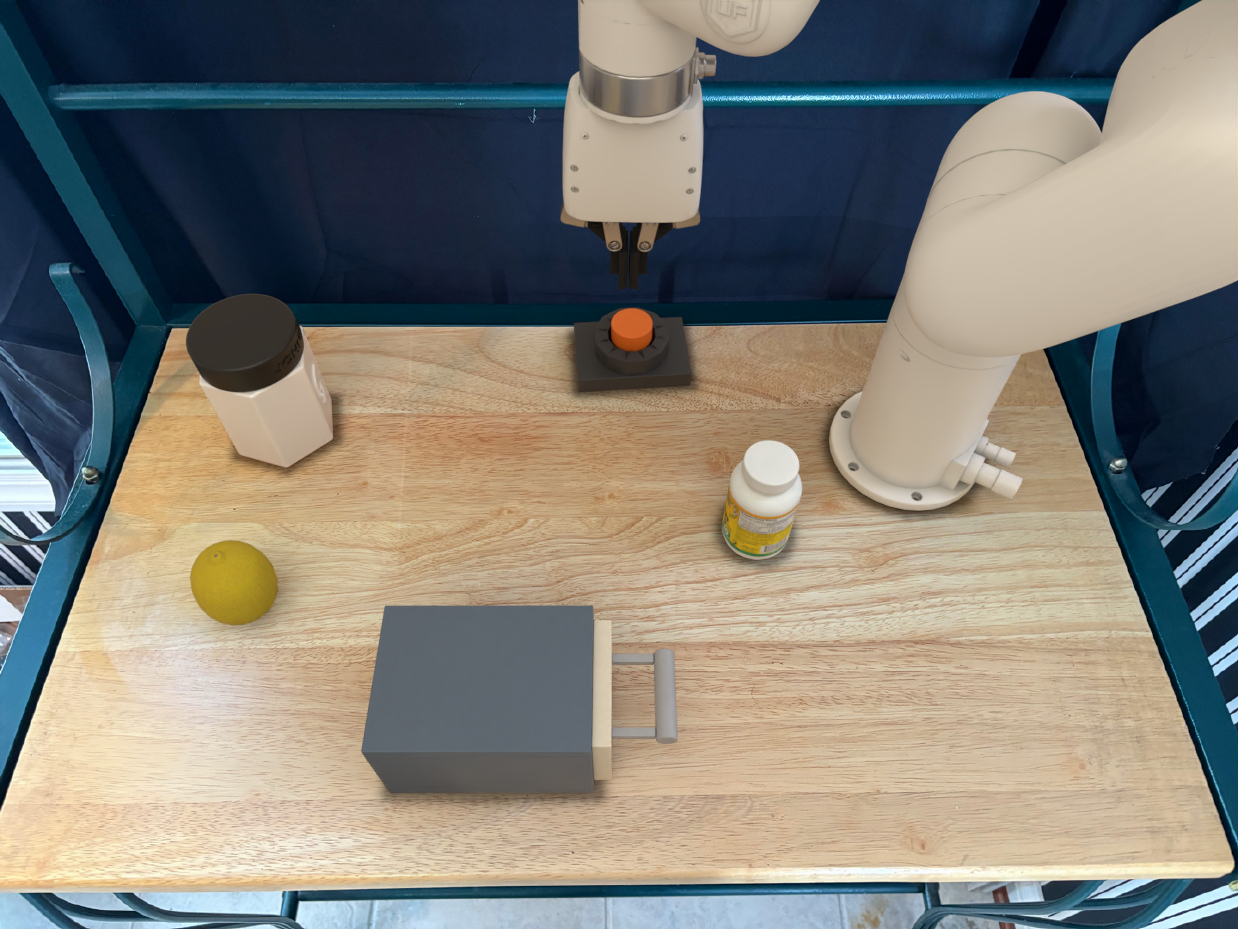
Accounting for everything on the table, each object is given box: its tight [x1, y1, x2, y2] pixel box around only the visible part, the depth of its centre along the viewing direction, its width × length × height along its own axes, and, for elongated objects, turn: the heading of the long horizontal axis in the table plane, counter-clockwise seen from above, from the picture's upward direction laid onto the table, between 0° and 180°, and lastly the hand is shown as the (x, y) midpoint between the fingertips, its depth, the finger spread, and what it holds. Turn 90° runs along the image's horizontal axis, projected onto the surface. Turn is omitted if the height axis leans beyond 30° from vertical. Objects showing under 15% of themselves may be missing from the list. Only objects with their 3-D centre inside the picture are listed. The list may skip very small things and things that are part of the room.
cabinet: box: [360, 605, 595, 794], centre depth 60 cm, size 14×10×9 cm
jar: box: [185, 293, 334, 469], centre depth 73 cm, size 9×8×12 cm
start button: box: [611, 307, 653, 351], centre depth 80 cm, size 4×4×2 cm
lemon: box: [189, 539, 279, 626], centre depth 65 cm, size 6×6×8 cm
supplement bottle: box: [721, 439, 803, 561], centre depth 69 cm, size 5×5×10 cm
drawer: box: [592, 619, 679, 781], centre depth 60 cm, size 17×8×7 cm, turn 90°
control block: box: [573, 306, 692, 393], centre depth 82 cm, size 10×7×4 cm
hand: (627, 277), depth 75 cm, fingers closed
